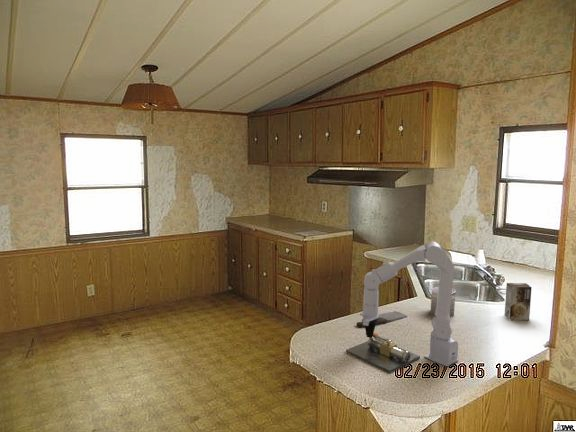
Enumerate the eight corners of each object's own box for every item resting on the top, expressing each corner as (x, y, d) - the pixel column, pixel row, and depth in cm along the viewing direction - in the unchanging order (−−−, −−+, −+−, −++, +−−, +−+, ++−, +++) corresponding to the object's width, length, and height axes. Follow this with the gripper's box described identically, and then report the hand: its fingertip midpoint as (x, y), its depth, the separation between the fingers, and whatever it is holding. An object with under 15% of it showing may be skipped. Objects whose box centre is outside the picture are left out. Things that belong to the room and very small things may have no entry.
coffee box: (523, 315, 209) (526, 283, 207) (529, 320, 203) (532, 287, 201) (503, 314, 210) (506, 282, 208) (509, 319, 204) (511, 286, 201)
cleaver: (363, 330, 190) (364, 325, 190) (348, 323, 199) (349, 318, 198) (409, 317, 207) (409, 313, 206) (393, 311, 215) (394, 307, 215)
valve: (419, 358, 164) (420, 344, 163) (389, 373, 152) (390, 358, 152) (376, 340, 180) (376, 327, 179) (345, 352, 168) (346, 338, 168)
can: (458, 317, 206) (459, 293, 204) (434, 317, 206) (435, 293, 204) (449, 309, 217) (451, 286, 215) (426, 309, 217) (428, 285, 215)
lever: (392, 342, 164) (392, 339, 164) (389, 344, 163) (389, 341, 163) (368, 333, 173) (368, 330, 173) (365, 334, 172) (365, 331, 171)
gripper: (365, 296, 175) (364, 328, 177) (355, 307, 162) (354, 342, 164) (382, 299, 172) (381, 331, 174) (374, 310, 159) (372, 345, 161)
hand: (369, 337), depth 169 cm, fingers closed, pressing on lever
